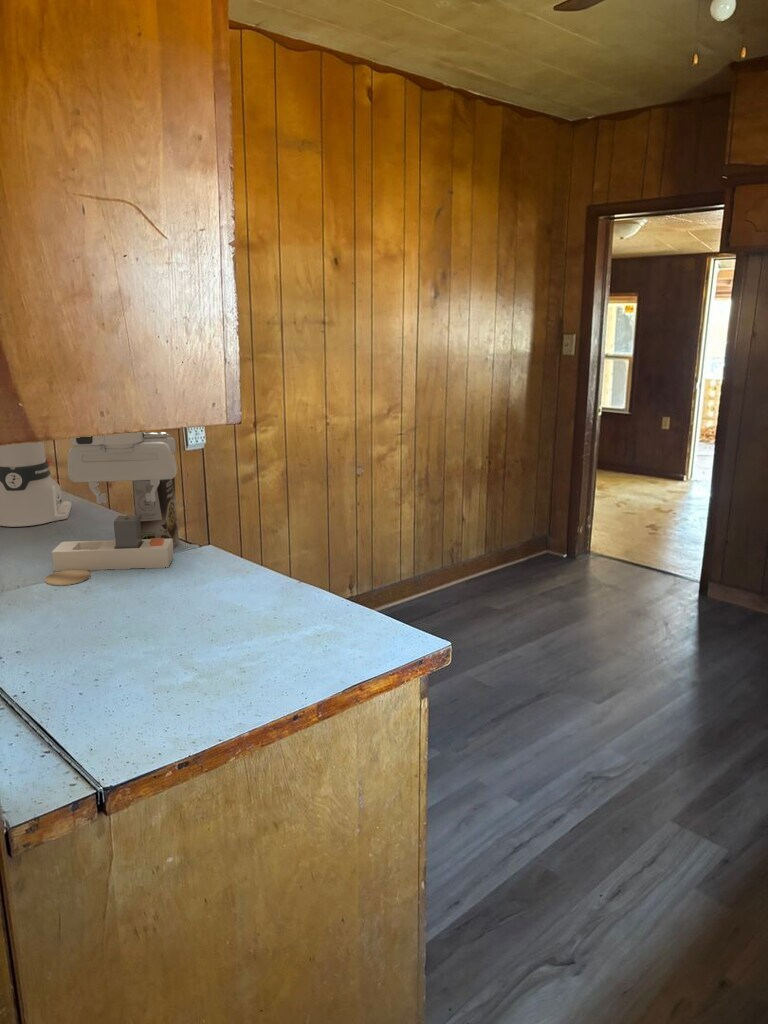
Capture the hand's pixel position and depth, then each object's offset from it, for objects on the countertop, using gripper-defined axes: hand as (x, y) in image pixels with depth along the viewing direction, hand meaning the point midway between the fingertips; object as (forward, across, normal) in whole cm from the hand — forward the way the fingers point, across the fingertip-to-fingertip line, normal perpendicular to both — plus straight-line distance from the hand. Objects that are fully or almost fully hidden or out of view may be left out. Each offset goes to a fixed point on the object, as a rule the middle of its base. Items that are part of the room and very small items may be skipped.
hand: (126, 502), depth 149 cm
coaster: (+13, +10, +8) cm, 18 cm away
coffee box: (+13, -4, -10) cm, 17 cm away
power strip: (+13, +3, 0) cm, 13 cm away
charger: (+10, 0, 0) cm, 10 cm away
